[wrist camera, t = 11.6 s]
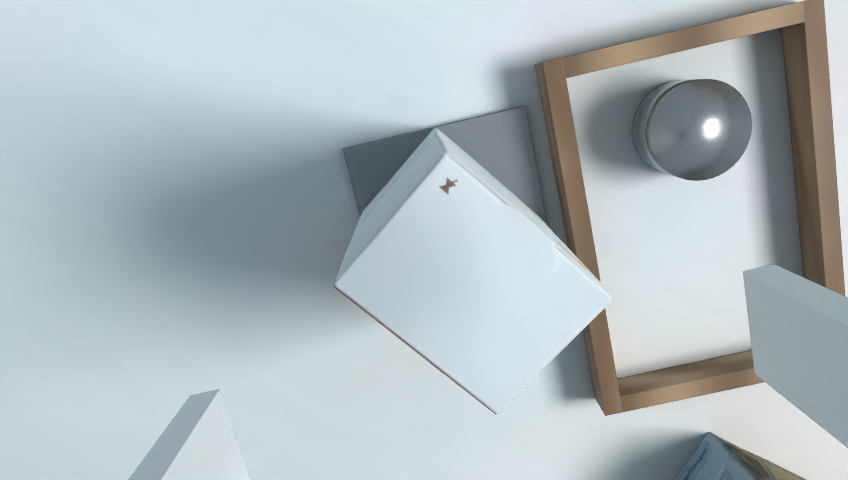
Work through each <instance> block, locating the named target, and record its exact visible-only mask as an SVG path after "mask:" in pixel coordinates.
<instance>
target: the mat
mask: <svg viewBox="0 0 848 480" xmlns="http://www.w3.org/2000/svg"><path fill="white" fill-rule="evenodd" d="M434 128H437V129H438V130H440V131H441V132H442V133H443V134H445V135H446V136H447V137H448V138H449V139H451V140H452V141H453V142H454V143H455V144H457V145H458V146H459V147H460V148H461V149H462V150H464V151H465V152H466V153H467V154H468V155H469V156H471V157H472V158H473V159H474V160H475V161H476V162H478V163H479V164H480V165H481V166H482V167H483V168H484V169H486V170H487V171H488V172H489V173H490V174H491V175H493V176H494V177H495V178H496V179H497V180H498V181H499V182H501V183H502V184H503V185H504V186H505V187H506V188H507V189H509V190H510V191H511V192H512V193H513V194H514V195H515V196H516V197H518V198H519V199H520V200H521V201H522V202H523V203H524V204H525V205H527V206H528V207H529V208H530V209H531V210H532V211H533V212H534V213H535V214H536V215H538V216H539V217H540V218H541V219H542V220H543V221H544V222H545V224H546V225H547V221H546V216H545V210H544V205H543V200H542V194H541V189H540V184H539V178H538V173H537V168H536V162H535V157H534V152H533V146H532V141H531V136H530V130H529V125H528V120H527V114H526V109H525V106H523V107H519V108H514V109H510V110H506V111H502V112H497V113H493V114H489V115H485V116H480V117H476V118H472V119H467V120H463V121H459V122H455V123H450V124H446V125H442V126H438V127H433V128H429V129H425V130H420V131H416V132H412V133H408V134H403V135H399V136H395V137H391V138H386V139H382V140H378V141H373V142H369V143H365V144H361V145H356V146H352V147H348V148H344V149H343V150H344V154H345V158H346V162H347V166H348V170H349V174H350V177H351V181H352V185H353V189H354V193H355V197H356V201H357V204H358V208H359V212H360V216H361V214H362V212H363V211H364V210H365V208H366V207H367V206H368V205H369V204H370V202H371V201H372V200H373V199H374V198H375V197H376V195H377V194H378V193H379V192H380V191H381V190H382V189H383V187H384V186H385V185H386V184H387V183H388V182H389V180H390V179H391V178H392V177H393V176H394V175H395V173H396V172H397V171H398V170H399V169H400V168H401V166H402V165H403V164H404V163H405V162H406V161H407V159H408V158H409V157H410V156H411V155H412V154H413V152H414V151H415V150H416V149H417V148H418V146H419V145H420V144H421V143H422V142H423V141H424V139H425V138H426V137H427V136H428V135H429V134H430V132H431V131H432V130H433V129H434Z"/></svg>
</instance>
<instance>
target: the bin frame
mask: <svg viewBox="0 0 848 480" xmlns="http://www.w3.org/2000/svg"><path fill="white" fill-rule="evenodd" d="M781 27H782V38H783V49H784V60H785V72H786V83H787V94H788V106H789V117H790V128H791V139H792V151H793V162H794V173H795V185H796V196H797V207H798V219H799V230H800V241H801V252H802V264H803V275H804V278H806V279H808V280H810V281H812V282H814V283H816V284H819V285H821V286H823V287H825V288H827V289H830V290H832V291H834V292H836V293H838V294H841V295H843V296H845V286H844V272H843V258H842V244H841V230H840V217H839V203H838V189H837V175H836V161H835V148H834V134H833V120H832V106H831V92H830V79H829V65H828V51H827V37H826V23H825V10H824V0H805V1H801V2H797V3H793V4H788V5H784V6H780V7H776V8H771V9H767V10H763V11H759V12H755V13H750V14H746V15H742V16H738V17H733V18H729V19H725V20H721V21H717V22H712V23H708V24H704V25H700V26H695V27H691V28H687V29H683V30H679V31H674V32H670V33H666V34H662V35H657V36H653V37H649V38H645V39H640V40H636V41H632V42H628V43H624V44H619V45H615V46H611V47H607V48H602V49H598V50H594V51H590V52H586V53H581V54H577V55H573V56H569V57H564V58H560V59H556V60H552V61H548V62H543V63H539V64H535V66H536V72H537V77H538V83H539V88H540V94H541V99H542V105H543V110H544V116H545V121H546V127H547V132H548V138H549V144H550V149H551V155H552V160H553V166H554V171H555V177H556V182H557V188H558V193H559V199H560V205H561V210H562V216H563V221H564V227H565V232H566V238H567V243H568V248H569V249H570V250H571V251H572V252H573V254H574V255H575V256H576V257H577V258H578V259H579V260H580V261H581V262H582V263H583V264H584V265H585V266H586V268H587V269H588V270H589V271H590V272H591V273H592V274H593V275H594V276H595V277H596V278H597V279H598V280H599V281H600V276H599V270H598V264H597V258H596V253H595V247H594V241H593V235H592V229H591V223H590V217H589V211H588V205H587V200H586V194H585V188H584V182H583V176H582V170H581V164H580V158H579V153H578V147H577V141H576V135H575V129H574V123H573V117H572V111H571V106H570V100H569V94H568V88H567V82H566V78H569V77H573V76H577V75H582V74H586V73H590V72H594V71H599V70H603V69H607V68H611V67H616V66H620V65H624V64H628V63H633V62H637V61H641V60H645V59H650V58H654V57H658V56H662V55H667V54H671V53H675V52H679V51H684V50H688V49H692V48H696V47H701V46H705V45H709V44H713V43H718V42H722V41H726V40H730V39H735V38H739V37H743V36H747V35H752V34H756V33H760V32H764V31H769V30H773V29H777V28H781ZM583 332H584V337H585V343H586V349H587V354H588V360H589V365H590V371H591V376H592V382H593V387H594V393H595V398H596V400H597V402H598V404H599V406H600V407H601V409H602V411H603V412H604V414H605V416H607V415H612V414H616V413H621V412H626V411H630V410H635V409H640V408H645V407H649V406H654V405H659V404H664V403H668V402H673V401H678V400H682V399H687V398H692V397H697V396H701V395H706V394H711V393H716V392H720V391H725V390H730V389H734V388H739V387H744V386H749V385H753V384H758V383H763V382H765V381H763V380H762V379H761V378H759V377H758V376H757V375H756V374H755V372H754V363H753V355H752V350H750V351H746V352H741V353H736V354H732V355H727V356H722V357H718V358H713V359H708V360H704V361H699V362H694V363H690V364H685V365H680V366H676V367H671V368H666V369H661V370H657V371H652V372H647V373H643V374H638V375H633V376H629V377H624V378H619V379H617V376H616V370H615V364H614V358H613V352H612V347H611V341H610V335H609V329H608V323H607V317H606V311H605V308H604V309H603V310H602V311H601V312H600V313H599V314H598V315H597V316H596V317H595V318H594V319H593V320H592V321H591V322H590V323H589V324H588V325H587V326H586V327H585V328H584V329H583Z"/></svg>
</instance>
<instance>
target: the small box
mask: <svg viewBox="0 0 848 480" xmlns="http://www.w3.org/2000/svg"><path fill="white" fill-rule="evenodd" d="M334 287H335V288H336V289H337V290H338V291H340V292H341V293H342V294H343V295H345V296H346V297H347V298H348V299H350V300H351V301H352V302H354V303H355V304H356V305H357V306H359V307H360V308H361V309H362V310H364V311H365V312H366V313H368V314H369V315H370V316H371V317H373V318H374V319H375V320H376V321H378V322H379V323H380V324H382V325H383V326H384V327H385V328H387V329H388V330H389V331H390V332H392V333H393V334H394V335H395V336H397V337H398V338H399V339H401V340H402V341H403V342H404V343H406V344H407V345H408V346H410V347H411V348H412V349H413V350H414V351H416V352H417V353H418V354H419V355H421V356H422V357H423V358H425V359H426V360H427V361H428V362H430V363H431V364H432V365H433V366H435V367H436V368H437V369H438V370H440V371H441V372H442V373H444V374H445V375H446V376H448V377H449V378H450V379H451V380H453V381H454V382H455V383H456V384H458V385H459V386H460V387H462V388H463V389H464V390H465V391H467V392H468V393H469V394H470V395H472V396H473V397H474V398H476V399H477V400H478V401H479V402H481V403H482V404H483V405H484V406H486V407H487V408H488V409H490V410H491V411H492V412H493V413H495V414H499V413H500V412H501V411H502V410H503V409H504V408H505V407H506V406H507V405H508V404H509V403H510V402H511V401H512V400H513V399H514V398H515V397H516V396H517V395H518V394H519V393H520V392H521V391H522V390H523V389H524V388H525V387H526V386H527V385H528V384H529V383H530V382H531V381H532V380H533V379H534V378H535V377H536V376H537V375H538V374H539V373H540V372H541V371H542V370H543V369H544V368H545V367H546V366H547V365H548V364H549V363H550V362H551V361H552V360H553V359H554V358H555V357H556V356H557V355H558V354H559V353H560V352H561V351H562V350H563V349H564V348H565V347H566V346H567V345H568V344H569V343H570V342H571V341H572V340H573V339H574V338H575V337H576V336H577V335H578V334H579V333H580V332H581V331H582V330H583V329H584V328H585V327H586V326H587V325H588V324H589V323H590V322H591V321H592V320H593V319H594V318H595V317H596V316H597V315H598V314H599V313H600V312H601V311H602V310H603V309H604V308H605V307H606V306H608V305H609V304H610V303H611V301H612V295H611V294H610V292H609V291H608V290H607V289H606V288H605V287H604V286H603V284H602V283H601V282H600V281H599V280H598V279H597V278H596V277H595V276H594V275H593V274H592V273H591V272H590V271H589V270H588V269H587V268H586V266H585V265H584V264H583V263H582V262H581V261H580V260H579V259H578V258H577V257H576V256H575V255H574V254H573V252H572V251H571V250H570V249H569V248H568V247H567V246H566V245H565V244H564V243H563V242H562V241H561V240H560V239H559V238H558V237H557V236H556V235H555V234H554V232H553V231H552V230H551V229H550V228H549V227H548V226H547V225H546V224H545V222H544V221H543V220H542V219H541V218H540V217H539V216H538V215H536V214H535V213H534V212H533V211H532V210H531V209H530V208H529V207H528V206H527V205H525V204H524V203H523V202H522V201H521V200H520V199H519V198H518V197H516V196H515V195H514V194H513V193H512V192H511V191H510V190H509V189H507V188H506V187H505V186H504V185H503V184H502V183H501V182H499V181H498V180H497V179H496V178H495V177H494V176H493V175H491V174H490V173H489V172H488V171H487V170H486V169H484V168H483V167H482V166H481V165H480V164H479V163H478V162H476V161H475V160H474V159H473V158H472V157H471V156H469V155H468V154H467V153H466V152H465V151H464V150H462V149H461V148H460V147H459V146H458V145H457V144H455V143H454V142H453V141H452V140H451V139H449V138H448V137H447V136H446V135H445V134H443V133H442V132H441V131H440V130H438V129H437V128H434V129H433V130H432V131H431V132H430V134H429V135H428V136H427V137H426V138H425V139H424V141H423V142H422V143H421V144H420V145H419V146H418V148H417V149H416V150H415V151H414V152H413V154H412V155H411V156H410V157H409V158H408V159H407V161H406V162H405V163H404V164H403V165H402V166H401V168H400V169H399V170H398V171H397V172H396V173H395V175H394V176H393V177H392V178H391V179H390V180H389V182H388V183H387V184H386V185H385V186H384V187H383V189H382V190H381V191H380V192H379V193H378V194H377V195H376V197H375V198H374V199H373V200H372V201H371V202H370V204H369V205H368V206H367V207H366V208H365V210H364V211H363V212H362V214H361V217H360V219H359V221H358V223H357V225H356V228H355V230H354V233H353V236H352V238H351V241H350V244H349V246H348V249H347V251H346V253H345V256H344V259H343V261H342V264H341V267H340V269H339V271H338V274H337V277H336V280H335V283H334Z"/></svg>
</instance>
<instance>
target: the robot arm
mask: <svg viewBox="0 0 848 480" xmlns="http://www.w3.org/2000/svg"><path fill="white" fill-rule="evenodd" d="M743 277H744V285H745V294H746V303H747V311H748V320H749V329H750V337H751V346H752V355H753V363H754V372H755V374H756V375H757V376H758V377H759V378H761V379H762V380H763V381H765V382H766V383H767V384H768V385H770V386H771V387H772V388H773V389H775V390H776V391H777V392H778V393H780V394H781V395H782V396H783V397H785V398H786V399H787V400H788V401H790V402H791V403H792V404H793V405H795V406H796V407H797V408H798V409H800V410H801V411H802V412H803V413H805V414H806V415H807V416H808V417H810V418H811V419H812V420H813V421H815V422H816V423H817V424H818V425H820V426H821V427H822V428H823V429H825V430H826V431H827V432H828V433H830V434H831V435H832V436H833V437H835V438H836V439H837V440H838V441H840V442H841V443H842V444H843V445H845V446H846V447H847V448H848V298H847V297H845V296H843V295H841V294H838V293H836V292H834V291H832V290H830V289H827V288H825V287H823V286H821V285H819V284H816V283H814V282H812V281H810V280H808V279H806V278H803V277H801V276H799V275H797V274H795V273H792V272H790V271H788V270H786V269H784V268H781V267H779V266H777V265H775V264H773V265H769V266H764V267H760V268H755V269H751V270H746V271H743ZM129 480H250V477H249V474H248V471H247V468H246V465H245V462H244V459H243V456H242V453H241V450H240V447H239V444H238V441H237V438H236V436H235V433H234V430H233V427H232V424H231V421H230V418H229V415H228V412H227V409H226V406H225V403H224V400H223V397H222V394H221V391H220V389H218V390H213V391H209V392H204V393H200V394H195V395H191V396H190V397H189V398H188V399H187V401H186V402H185V403H184V405H183V406H182V408H181V409H180V410H179V412H178V413H177V414H176V416H175V417H174V418H173V420H172V421H171V422H170V424H169V425H168V427H167V428H166V429H165V431H164V432H163V433H162V435H161V436H160V437H159V439H158V440H157V442H156V443H155V444H154V446H153V447H152V448H151V450H150V451H149V452H148V454H147V455H146V457H145V458H144V459H143V461H142V462H141V463H140V465H139V466H138V467H137V469H136V470H135V472H134V473H133V474H132V476H131V477H130V478H129Z"/></svg>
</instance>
